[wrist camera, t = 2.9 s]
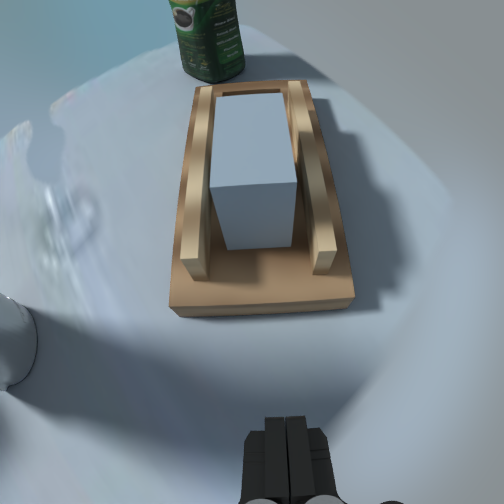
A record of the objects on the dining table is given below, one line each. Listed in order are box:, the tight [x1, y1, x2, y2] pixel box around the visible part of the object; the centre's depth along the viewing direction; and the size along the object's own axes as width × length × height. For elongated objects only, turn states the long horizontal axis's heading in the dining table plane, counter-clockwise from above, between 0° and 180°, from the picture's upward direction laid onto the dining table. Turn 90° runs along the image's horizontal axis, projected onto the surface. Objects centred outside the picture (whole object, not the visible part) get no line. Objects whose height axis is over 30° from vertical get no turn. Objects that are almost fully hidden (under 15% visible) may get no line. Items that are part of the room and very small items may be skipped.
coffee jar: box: [169, 0, 245, 83], centre depth 34 cm, size 10×8×19 cm
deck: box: [169, 80, 355, 317], centre depth 29 cm, size 28×14×7 cm, turn 2°
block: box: [210, 93, 297, 250], centre depth 23 cm, size 9×5×8 cm, turn 2°
